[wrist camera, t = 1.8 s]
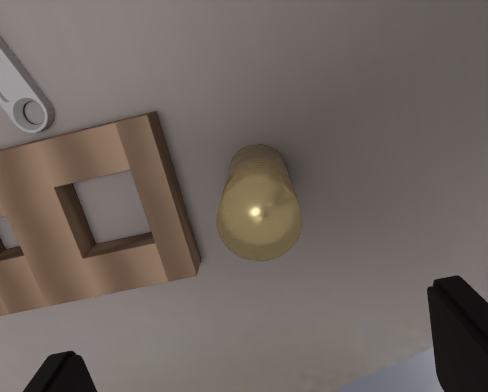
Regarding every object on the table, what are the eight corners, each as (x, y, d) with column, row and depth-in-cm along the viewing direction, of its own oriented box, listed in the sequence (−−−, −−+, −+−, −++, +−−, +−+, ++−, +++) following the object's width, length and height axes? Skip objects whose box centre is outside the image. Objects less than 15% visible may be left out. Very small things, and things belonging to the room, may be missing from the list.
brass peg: (279, 138, 28) (292, 173, 18) (291, 192, 29) (309, 251, 20) (223, 151, 28) (207, 192, 19) (236, 204, 30) (228, 268, 20)
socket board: (156, 111, 27) (146, 115, 25) (201, 260, 31) (196, 275, 29) (-72, 167, 29) (-101, 176, 27) (-5, 302, 33) (-25, 321, 30)
